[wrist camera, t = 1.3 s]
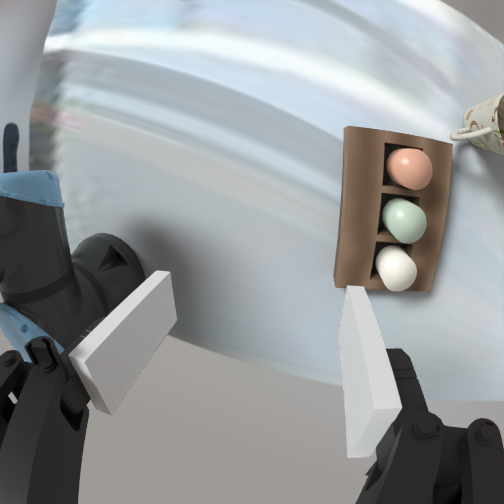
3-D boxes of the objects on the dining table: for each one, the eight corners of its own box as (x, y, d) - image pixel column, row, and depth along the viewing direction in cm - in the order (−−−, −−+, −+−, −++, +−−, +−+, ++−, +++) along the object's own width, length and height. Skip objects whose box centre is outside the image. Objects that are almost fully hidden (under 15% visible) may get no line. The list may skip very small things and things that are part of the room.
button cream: (372, 276, 34) (379, 290, 30) (378, 243, 32) (386, 255, 28) (402, 277, 33) (412, 292, 29) (409, 246, 31) (420, 258, 28)
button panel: (333, 275, 38) (335, 287, 35) (343, 128, 31) (348, 125, 28) (421, 280, 36) (429, 291, 33) (440, 143, 29) (452, 144, 25)
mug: (502, 147, 26) (543, 153, 17) (446, 170, 30) (486, 180, 20) (484, 94, 24) (524, 87, 15) (425, 112, 28) (462, 104, 18)
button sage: (379, 231, 31) (388, 242, 28) (384, 196, 30) (394, 202, 26) (411, 234, 31) (422, 244, 27) (416, 199, 29) (429, 206, 25)
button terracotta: (385, 182, 29) (395, 187, 26) (387, 146, 28) (398, 145, 24) (417, 187, 29) (430, 192, 25) (419, 151, 27) (433, 152, 23)
